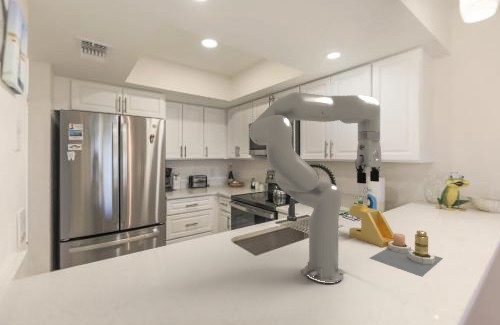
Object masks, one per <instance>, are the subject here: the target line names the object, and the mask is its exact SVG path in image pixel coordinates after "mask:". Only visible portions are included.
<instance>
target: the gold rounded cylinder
mask: <svg viewBox="0 0 500 325" xmlns="http://www.w3.org/2000/svg"><path fill="white" fill-rule="evenodd" d="M414 250H415V255H416V256H419V257H423V258H428V253H429V236H428V234H427V231H423V230H416V234H414Z"/></svg>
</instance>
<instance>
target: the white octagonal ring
mask: <svg viewBox="0 0 500 325" xmlns="http://www.w3.org/2000/svg"><path fill="white" fill-rule="evenodd" d="M435 256H436V255H434V254H432V253H430V252H428V258H423V257H419V256H416V255H415V249H412V250H411V251H410V252H409V258H410V259H411V260H412V261H414V262H417V263H421V264H429V265H432V264H433V263H435Z"/></svg>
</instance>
